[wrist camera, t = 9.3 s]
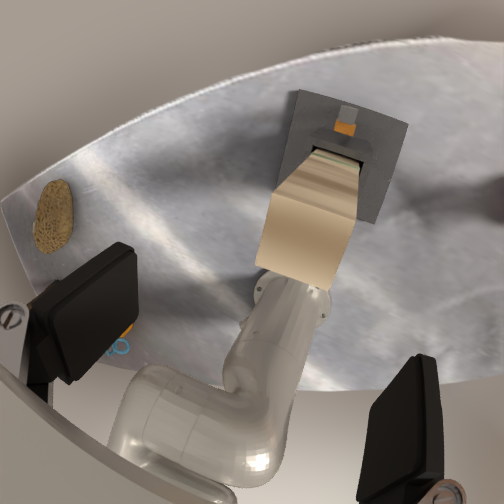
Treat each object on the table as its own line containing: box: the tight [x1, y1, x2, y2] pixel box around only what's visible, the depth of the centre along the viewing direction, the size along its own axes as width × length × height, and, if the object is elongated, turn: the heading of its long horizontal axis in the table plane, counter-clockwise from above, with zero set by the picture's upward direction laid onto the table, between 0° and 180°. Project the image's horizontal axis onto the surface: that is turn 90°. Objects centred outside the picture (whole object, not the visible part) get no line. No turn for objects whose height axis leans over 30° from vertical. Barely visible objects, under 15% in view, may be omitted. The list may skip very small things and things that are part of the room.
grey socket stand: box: [275, 89, 408, 224], centre depth 31 cm, size 14×14×18 cm
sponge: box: [33, 179, 73, 254], centre depth 58 cm, size 13×8×20 cm
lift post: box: [255, 147, 360, 291], centre depth 23 cm, size 4×4×20 cm
